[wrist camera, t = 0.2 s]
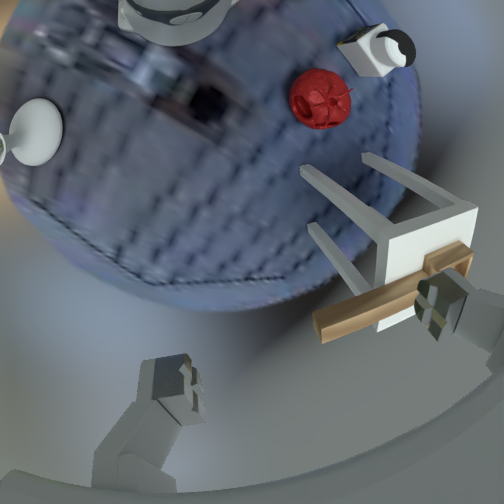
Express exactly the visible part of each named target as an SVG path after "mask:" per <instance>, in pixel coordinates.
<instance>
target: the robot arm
mask: <svg viewBox="0 0 504 504" xmlns="http://www.w3.org/2000/svg"><path fill="white" fill-rule="evenodd" d="M118 1H119V8H118V26H119V28H120V29H121V30H123V31H127V32H134V33H138V34H139V35H141V36H142V37H144V38H145V39H147V40H149V41H151V42H153V43H156V44H159V45H164V46H182V45H187V44H191V43H194V42H197V41H199V40H201V39H203V38H205V37H207V36H208V35H210V34H211V33H212V32H214V31H215V30H216V29H217V28H218V27H219V25H220V24H221V23H222V21H223V20H224V18H225V16H226V14H227V12H228V10H229V9H230V8H231V7H232V6H234V5H235V4H236V3H237V2H239V1H240V0H118ZM124 18H125V19H124ZM417 291H418V292H419V294H418V295H417V297H416V298H415V302H414V310H415V314H416V316H417V318H418V319H419V320H420V321H421V323H424V324H427V325H428V331H429V332H430V333H431V334H432V336H433V337H434V338H435V339H436V341H437V342H438V341H440V340H442V339H444V338H446V337H448V336H449V335H451V334H453V333H454V335H456V336H458V337H460V338H462V339H464V340H466V341H468V342H470V343H472V344H474V345H476V346H478V347H480V348H482V349H484V350H486V351H488V352H490V353H491V354H490V356H489V358H488V359H487V361H486V366H487V367H488V368H489V370H490V371H491V373H492V375H491V376H490V377H488V378H487V379H486V380H485V381H483V382H482V383H481V384H480V385H478V386H477V387H476V388H475V389H473V390H472V391H470V392H469V393H468V394H466V395H465V396H464V397H462V398H461V399H459V400H458V401H457V402H455V403H454V404H452V405H451V406H449V407H448V408H446V409H445V410H443V411H442V412H440V413H438V414H437V415H435V416H434V417H432V418H430V419H429V420H427V421H425V422H423V423H422V424H420V425H418V426H416V427H415V428H413V429H411V430H409V431H407V432H406V433H403V434H402V435H400V436H398V437H396V438H394V439H392V440H390V441H388V442H385V443H383V444H381V445H379V446H377V447H375V448H372V449H370V450H368V451H365V452H363V453H361V454H358V455H356V456H353V457H351V458H348V459H345V460H343V461H340V462H337V463H334V464H331V465H329V466H326V467H323V468H319V469H316V470H313V471H310V472H306V473H303V474H299V475H296V476H292V477H288V478H284V479H280V480H275V481H271V482H266V483H261V484H256V485H250V486H244V487H238V488H231V489H223V490H213V491H202V492H186V493H177V490H176V480H175V479H174V478H173V477H172V476H170V475H168V474H167V473H165V472H163V471H161V468H162V466H163V464H164V462H165V460H166V458H167V456H168V454H169V452H170V450H171V448H172V446H173V445H174V443H175V441H176V439H177V437H178V435H179V433H180V431H181V429H182V427H181V426H187V425H193V424H198V423H204V422H206V416H205V405H204V404H203V402H202V401H201V398H202V396H203V395H204V391H203V384H202V380H201V377H200V374H199V372H198V370H197V369H196V368H195V367H192V364H191V363H192V362H191V361H192V360H191V358H190V357H189V355H188V354H186V353H185V354H179V355H173V356H167V357H161V358H157V359H150V360H144V361H143V362H142V363H141V367H140V375H139V382H138V390H137V399H136V402H132V403H131V404H130V406H129V407H128V408H127V410H126V411H125V412H124V414H123V415H122V416H121V417H120V419H119V420H118V421H117V423H116V424H115V425H114V427H113V428H112V429H111V431H110V432H109V433H108V434H107V436H106V437H105V438H104V440H103V441H102V442H101V443H100V445H99V446H98V448H97V449H96V450H95V452H94V460H93V469H92V481H91V487H85V486H79V485H74V484H69V483H64V482H60V481H55V480H51V479H48V478H43V477H40V476H37V475H33V474H30V473H27V472H24V471H21V470H16V469H14V470H11V471H9V472H8V473H7V474H6V475H5V476H4V477H3V478H2V479H1V480H0V504H504V295H500V294H497V293H494V292H491V291H487V290H484V289H481V288H480V289H477V288H475V287H474V286H473V285H472V284H471V283H470V282H469V281H467V280H466V279H465V278H464V277H463V276H462V275H461V274H459V273H458V272H457V271H456V270H455V269H453V268H450V267H448V268H446V269H444V270H442V271H440V272H437V273H435V274H433V275H431V276H429V277H426V278H424V279H422V280H420V281H419V283H418V286H417Z"/></svg>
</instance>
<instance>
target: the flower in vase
mask: <svg viewBox="0 0 504 504" xmlns="http://www.w3.org/2000/svg"><path fill="white" fill-rule="evenodd" d="M62 130H63V128H62V119H61V116H60V113H59V111H58V109H57V108H56V106H55V105H54V104H53V103H52V102H50V101H48V100H46V99H42V98H36V99H32V100H30V101H28V102H26V103H25V104H24V105H23V106H22V107H21V108H20V109H19V110H18V111H17V112H16V114H15V115H14V117H13V119H12V122H11V125H10V129H9V135H2V134H1V133H0V165H1V164H2V162H3V160H4V158H5V154H6V153H7V152H8V151H10V150H12V152H13V154H14V156H15V157H16V158H17V159H18V160H19V161H20V162H21V163H23V164H26V165H30V166H38V165H41V164H43V163H45V162H47V161H48V160H49V159H51V158H52V156H53V155H54V154H55V152H56V151H57V149H58V147H59V145H60V142H61V138H62Z"/></svg>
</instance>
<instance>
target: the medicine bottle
mask: <svg viewBox="0 0 504 504" xmlns="http://www.w3.org/2000/svg"><path fill="white" fill-rule="evenodd" d="M337 47H338V49H339V50H340V51H341V52H342V54H343V55H344V56H345V58H346V59H347V60H348V62H349V63H350V64H351V66H352V67H353V68H354V70H355V71H356V72H357V74H358V75H359V76H369V77H383V76H385V75H386V74H387V73H388V72H390V71H391V70H392V69H393V68H395V67H408V66H410V65H411V64H412V63H413V62H414V60H415V57H416V49H415V46H414V43H413V41H412V40H411V38H410V37H409V36H408V35H407V34H406V33H405V32H403V31H401V30H397V29H394V30H389V29H388V28H387V26H386V25H385V24H384V23H381V24H376V25H372V26H367V27H363V28H360V29H359V30H357V31H356V32H354V33H353V34H351V35H350V36H348V37H347V38H345V39H344V40H343V41H341V42H340V43H338V44H337Z"/></svg>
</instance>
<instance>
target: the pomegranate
mask: <svg viewBox="0 0 504 504" xmlns="http://www.w3.org/2000/svg"><path fill="white" fill-rule="evenodd" d="M352 89H354V88H352ZM352 89H350V90H348V87H347V85H346V83H345V82H344V81H343V80H342V79H341V78H340V77H339V76H338V75H337V74H336V73H334V72H331V71H327V70H324V69H317V68H315V69H309V70H307V71H306V72H304V73H302V74H301V75H300V76H299V77H298V78H297V79H296V80H295V81H294V82H293V83H292V85H291V88H290V93H289V105H290V108H291V110H292V112H293V113H294V115H295V116H296V118H297V119H298V120H299V121H300V122H301V123H303V124H304V125H306V126H307V127H310V128H312V129H325V128H332V127H334V126H338V125H340V124H342V123H343V122H344V121H345V120H346V119H347V117H348V115H350V114H349V113H350V109H351V98H350V95H349V93H350V91H351V90H352Z"/></svg>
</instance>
